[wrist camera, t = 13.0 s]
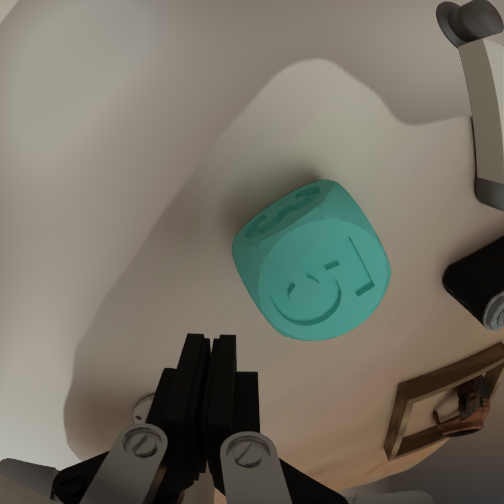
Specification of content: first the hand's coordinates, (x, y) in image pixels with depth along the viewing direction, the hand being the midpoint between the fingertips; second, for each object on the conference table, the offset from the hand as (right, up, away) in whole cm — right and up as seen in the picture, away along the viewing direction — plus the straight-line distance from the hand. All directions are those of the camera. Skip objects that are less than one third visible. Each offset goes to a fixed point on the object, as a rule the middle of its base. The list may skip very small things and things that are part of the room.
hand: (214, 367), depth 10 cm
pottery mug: (+32, -17, +22) cm, 43 cm away
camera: (+28, +2, +15) cm, 32 cm away
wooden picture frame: (+29, -18, +22) cm, 41 cm away
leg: (+23, +16, +9) cm, 30 cm away
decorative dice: (+5, +5, +14) cm, 16 cm away
